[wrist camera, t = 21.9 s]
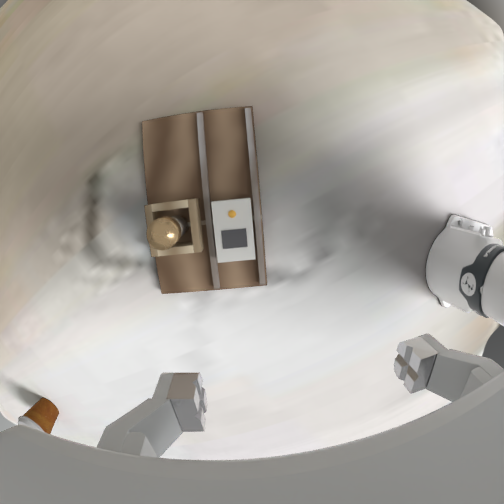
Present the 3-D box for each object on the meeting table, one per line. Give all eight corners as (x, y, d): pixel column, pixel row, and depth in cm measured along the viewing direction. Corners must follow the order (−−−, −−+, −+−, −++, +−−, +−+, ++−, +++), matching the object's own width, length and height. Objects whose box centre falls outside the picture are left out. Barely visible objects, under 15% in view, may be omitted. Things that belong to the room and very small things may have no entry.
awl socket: (198, 198, 37) (195, 198, 34) (204, 247, 38) (201, 252, 35) (151, 204, 37) (144, 205, 34) (157, 252, 38) (151, 257, 35)
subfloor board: (251, 109, 36) (252, 104, 33) (266, 281, 42) (267, 287, 39) (145, 123, 35) (139, 119, 33) (164, 290, 41) (160, 296, 39)
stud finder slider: (249, 197, 37) (250, 198, 34) (254, 254, 38) (255, 260, 36) (213, 201, 36) (210, 202, 34) (219, 258, 38) (217, 263, 35)
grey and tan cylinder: (188, 211, 37) (174, 216, 29) (191, 236, 38) (178, 248, 30) (164, 214, 37) (144, 220, 29) (167, 239, 38) (148, 251, 29)
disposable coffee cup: (69, 415, 48) (51, 445, 36) (55, 421, 48) (39, 448, 37) (43, 389, 46) (22, 417, 34) (32, 397, 46) (12, 422, 35)
